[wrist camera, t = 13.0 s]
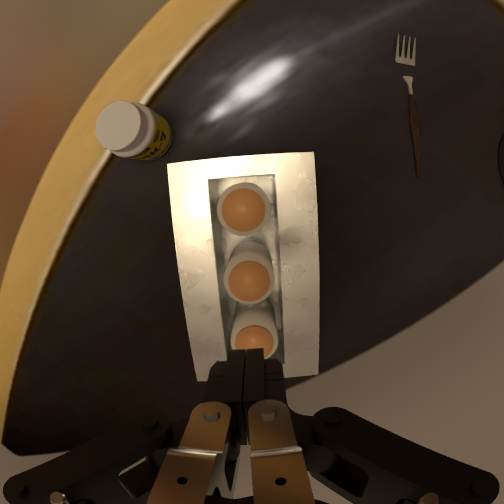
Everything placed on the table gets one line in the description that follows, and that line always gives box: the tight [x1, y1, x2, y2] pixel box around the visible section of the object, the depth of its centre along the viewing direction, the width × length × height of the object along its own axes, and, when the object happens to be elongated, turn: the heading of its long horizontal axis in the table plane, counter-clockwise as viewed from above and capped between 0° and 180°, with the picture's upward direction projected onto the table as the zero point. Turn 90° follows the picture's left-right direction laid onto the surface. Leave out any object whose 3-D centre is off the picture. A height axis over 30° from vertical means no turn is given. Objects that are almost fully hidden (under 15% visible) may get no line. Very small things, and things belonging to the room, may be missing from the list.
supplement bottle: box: [95, 101, 172, 161], centre depth 24 cm, size 5×5×8 cm
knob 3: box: [231, 299, 278, 359], centre depth 28 cm, size 4×4×6 cm
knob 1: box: [217, 182, 271, 236], centre depth 26 cm, size 4×4×6 cm
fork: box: [395, 34, 420, 177], centre depth 27 cm, size 3×16×2 cm, turn 3°
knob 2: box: [224, 241, 275, 304], centre depth 27 cm, size 4×4×6 cm
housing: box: [167, 152, 319, 381], centre depth 28 cm, size 12×19×7 cm, turn 4°
